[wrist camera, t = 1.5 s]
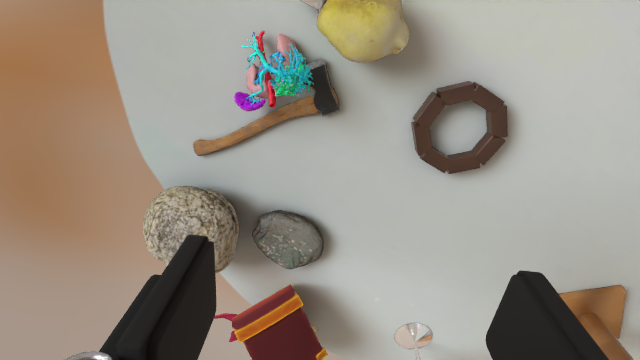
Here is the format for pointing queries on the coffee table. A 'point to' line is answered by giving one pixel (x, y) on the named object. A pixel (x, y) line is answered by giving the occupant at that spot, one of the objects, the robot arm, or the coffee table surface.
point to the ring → (483, 148)
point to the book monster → (277, 329)
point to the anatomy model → (286, 68)
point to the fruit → (362, 27)
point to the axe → (283, 111)
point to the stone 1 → (191, 223)
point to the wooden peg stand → (601, 317)
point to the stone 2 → (288, 239)
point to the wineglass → (413, 337)
